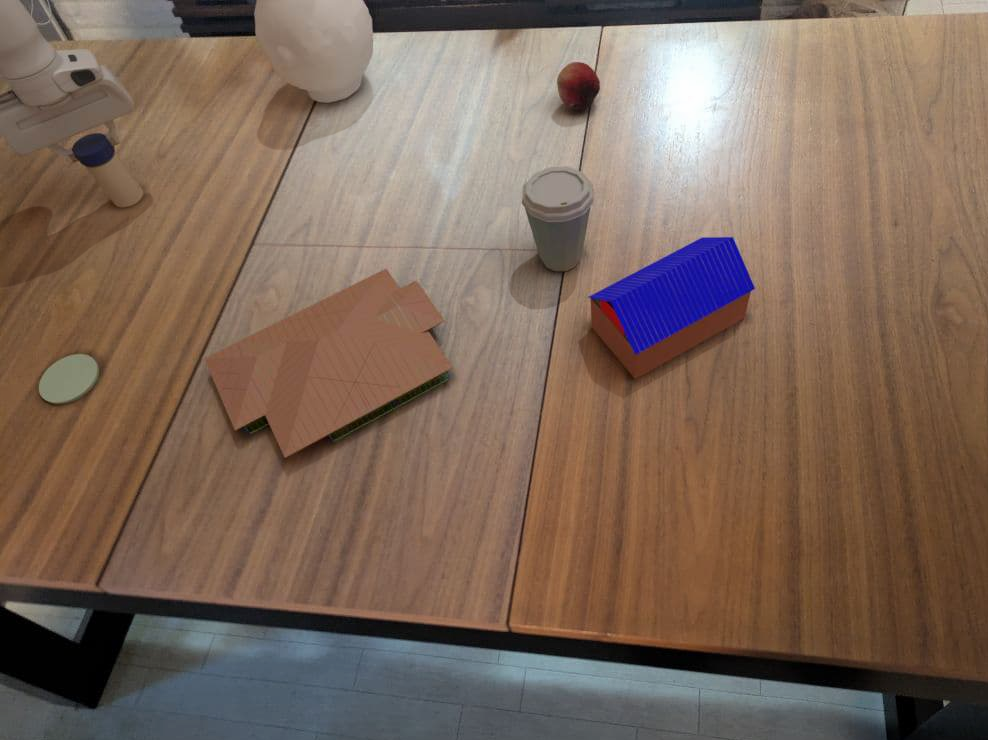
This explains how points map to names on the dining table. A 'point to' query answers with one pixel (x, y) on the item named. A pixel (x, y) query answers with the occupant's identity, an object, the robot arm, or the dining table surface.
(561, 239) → the disposable coffee cup
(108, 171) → the jar
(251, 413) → the brown flat stepped piece
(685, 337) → the house
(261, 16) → the vase
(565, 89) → the fruit
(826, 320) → the dining table surface
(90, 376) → the coaster
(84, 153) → the lid
